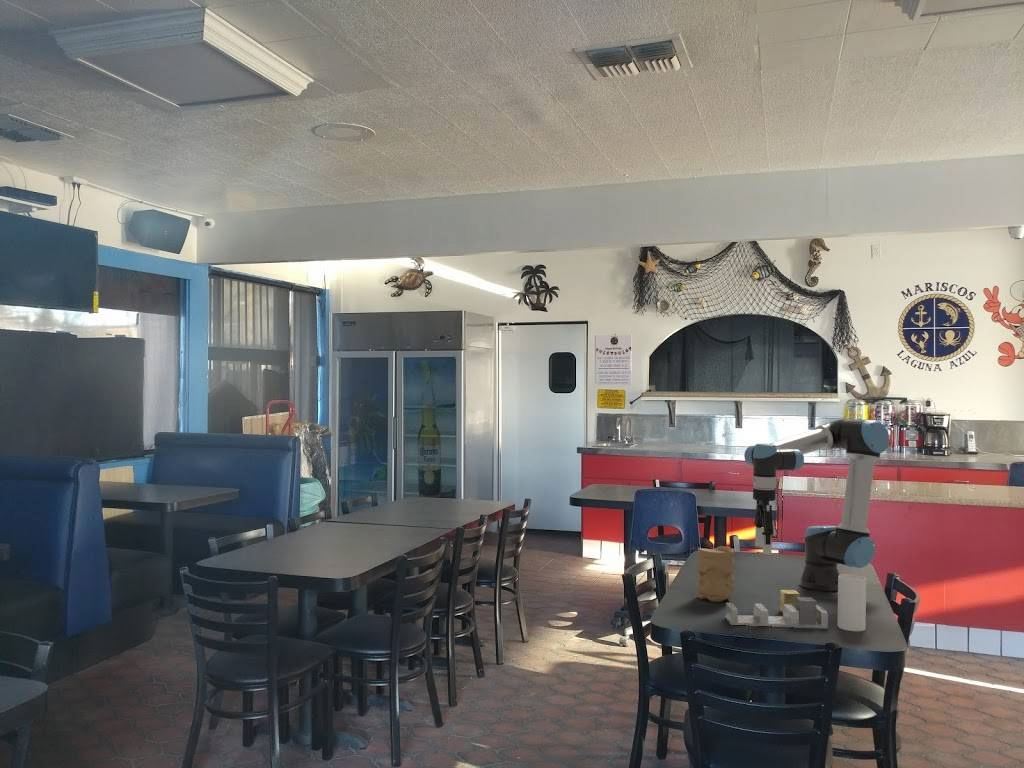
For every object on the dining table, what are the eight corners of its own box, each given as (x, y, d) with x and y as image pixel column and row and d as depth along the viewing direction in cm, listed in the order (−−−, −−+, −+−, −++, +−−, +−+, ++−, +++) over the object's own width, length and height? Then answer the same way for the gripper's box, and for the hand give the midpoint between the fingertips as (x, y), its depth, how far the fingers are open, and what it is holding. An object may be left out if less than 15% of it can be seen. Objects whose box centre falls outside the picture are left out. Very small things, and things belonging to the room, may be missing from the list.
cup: (832, 624, 272) (833, 574, 272) (857, 623, 272) (858, 574, 272) (845, 631, 264) (845, 580, 263) (870, 631, 264) (871, 580, 264)
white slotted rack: (818, 620, 275) (819, 596, 275) (827, 628, 266) (828, 603, 266) (725, 617, 277) (726, 593, 277) (731, 625, 268) (731, 600, 268)
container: (690, 596, 304) (691, 546, 304) (719, 593, 309) (719, 544, 309) (711, 605, 293) (712, 553, 293) (741, 602, 298) (741, 551, 298)
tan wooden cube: (795, 610, 287) (795, 590, 287) (799, 614, 282) (799, 594, 282) (780, 610, 287) (780, 589, 287) (784, 614, 282) (784, 593, 282)
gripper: (746, 484, 305) (745, 542, 305) (760, 492, 280) (758, 556, 280) (768, 484, 304) (767, 543, 304) (783, 493, 279) (782, 557, 279)
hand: (763, 550), depth 292 cm, fingers open, 13 cm apart
